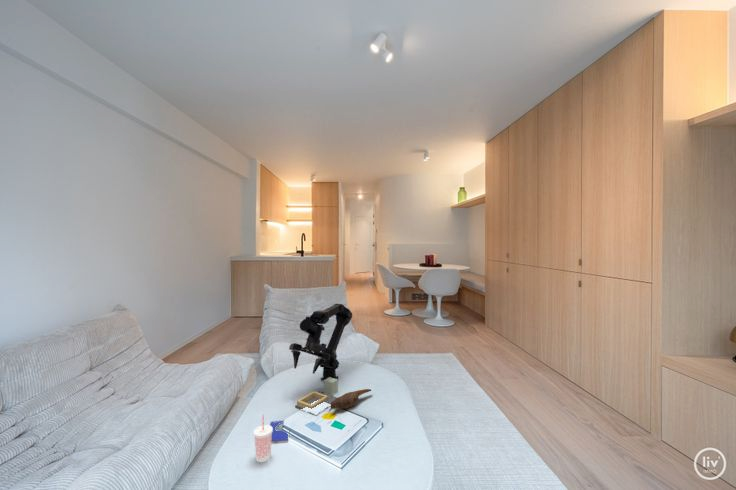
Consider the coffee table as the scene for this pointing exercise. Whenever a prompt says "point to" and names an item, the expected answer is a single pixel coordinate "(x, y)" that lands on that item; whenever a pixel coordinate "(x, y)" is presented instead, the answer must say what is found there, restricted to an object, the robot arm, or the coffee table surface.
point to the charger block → (330, 386)
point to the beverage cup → (263, 441)
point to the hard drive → (278, 434)
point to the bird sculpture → (347, 399)
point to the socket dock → (313, 397)
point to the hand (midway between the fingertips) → (304, 371)
